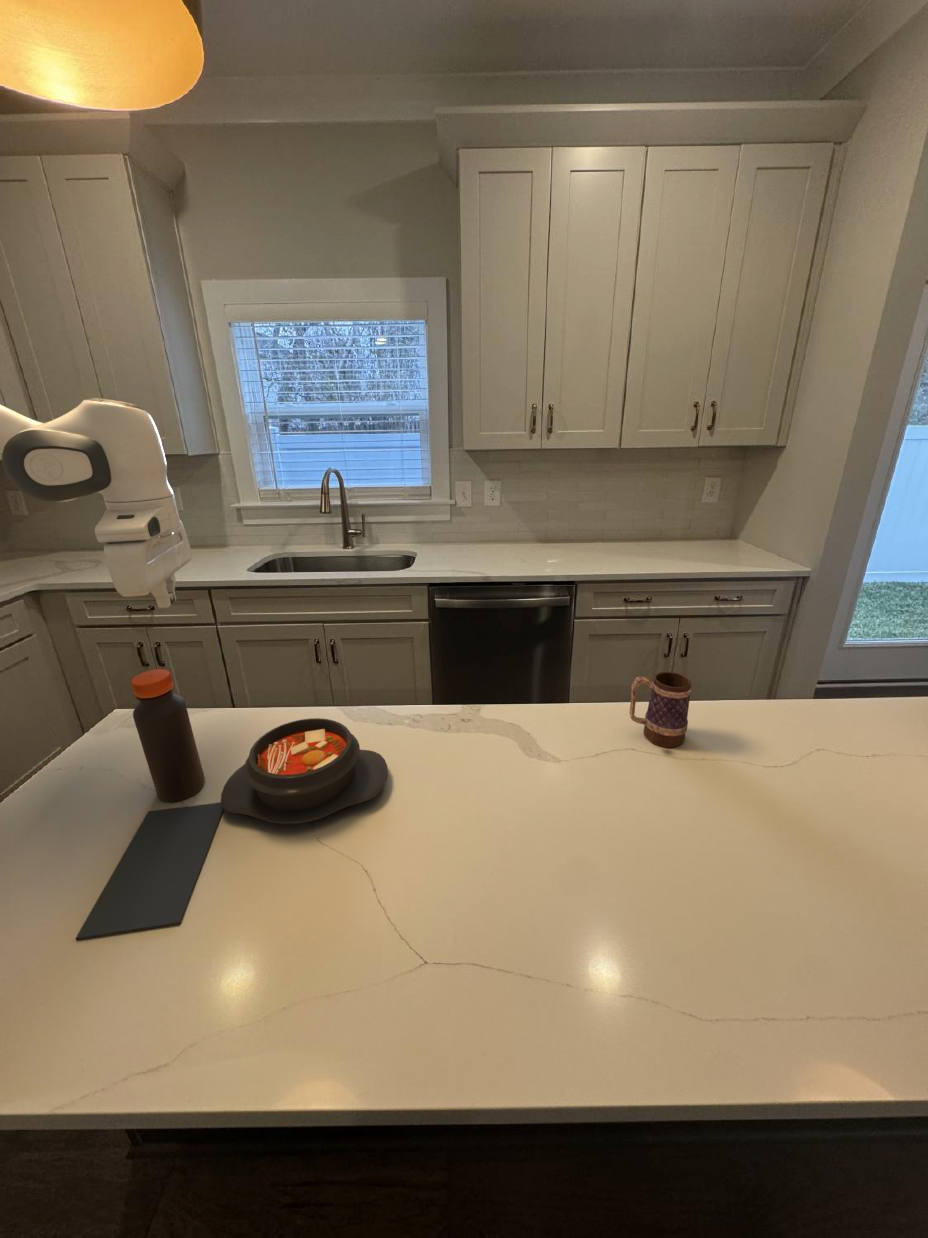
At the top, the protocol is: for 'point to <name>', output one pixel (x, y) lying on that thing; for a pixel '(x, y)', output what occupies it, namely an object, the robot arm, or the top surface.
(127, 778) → the top surface
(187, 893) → the mat
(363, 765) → the casserole
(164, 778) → the vinegar
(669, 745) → the mug
